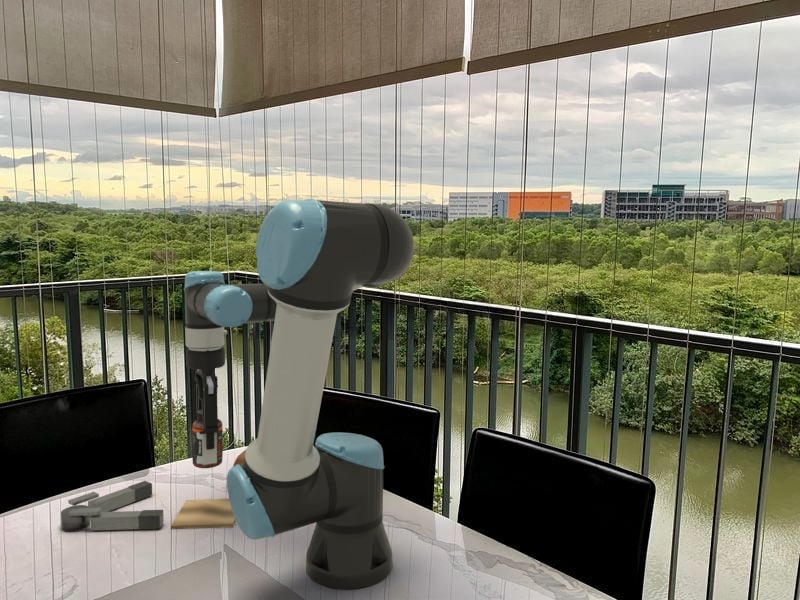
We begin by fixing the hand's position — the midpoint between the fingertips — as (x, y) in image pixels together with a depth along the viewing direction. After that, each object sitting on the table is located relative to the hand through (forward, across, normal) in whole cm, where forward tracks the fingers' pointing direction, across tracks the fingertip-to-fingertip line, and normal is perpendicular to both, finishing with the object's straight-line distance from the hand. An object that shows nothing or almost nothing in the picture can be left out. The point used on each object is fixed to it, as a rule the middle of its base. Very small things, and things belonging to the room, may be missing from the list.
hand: (207, 457), depth 125 cm
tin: (+12, +12, -11) cm, 20 cm away
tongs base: (+12, +2, +18) cm, 22 cm away
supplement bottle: (+2, 0, 0) cm, 2 cm away
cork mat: (+12, 0, 0) cm, 12 cm away
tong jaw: (+12, +11, +18) cm, 24 cm away
